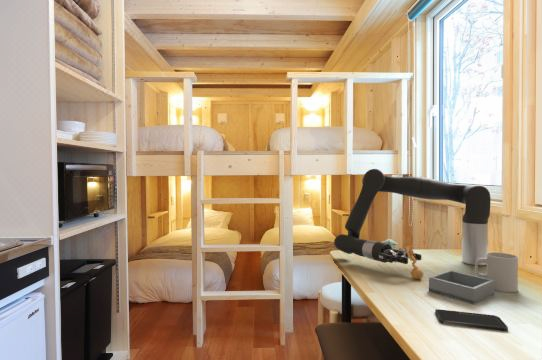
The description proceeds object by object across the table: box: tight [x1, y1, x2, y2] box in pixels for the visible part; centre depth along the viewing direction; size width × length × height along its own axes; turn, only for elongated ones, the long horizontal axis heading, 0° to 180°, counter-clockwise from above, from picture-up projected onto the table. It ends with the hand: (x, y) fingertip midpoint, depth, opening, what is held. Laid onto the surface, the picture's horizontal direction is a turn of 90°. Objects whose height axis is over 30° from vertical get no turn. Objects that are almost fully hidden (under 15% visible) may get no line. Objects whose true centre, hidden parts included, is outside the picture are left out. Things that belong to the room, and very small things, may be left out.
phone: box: [434, 308, 509, 332], centre depth 85 cm, size 8×1×15 cm
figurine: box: [404, 244, 424, 280], centre depth 120 cm, size 8×6×12 cm
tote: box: [428, 269, 495, 305], centre depth 105 cm, size 14×14×4 cm
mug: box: [474, 251, 519, 294], centre depth 110 cm, size 12×8×11 cm
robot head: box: [381, 238, 399, 249], centre depth 159 cm, size 8×4×7 cm, turn 66°
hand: (414, 259), depth 120 cm, fingers open, 8 cm apart
